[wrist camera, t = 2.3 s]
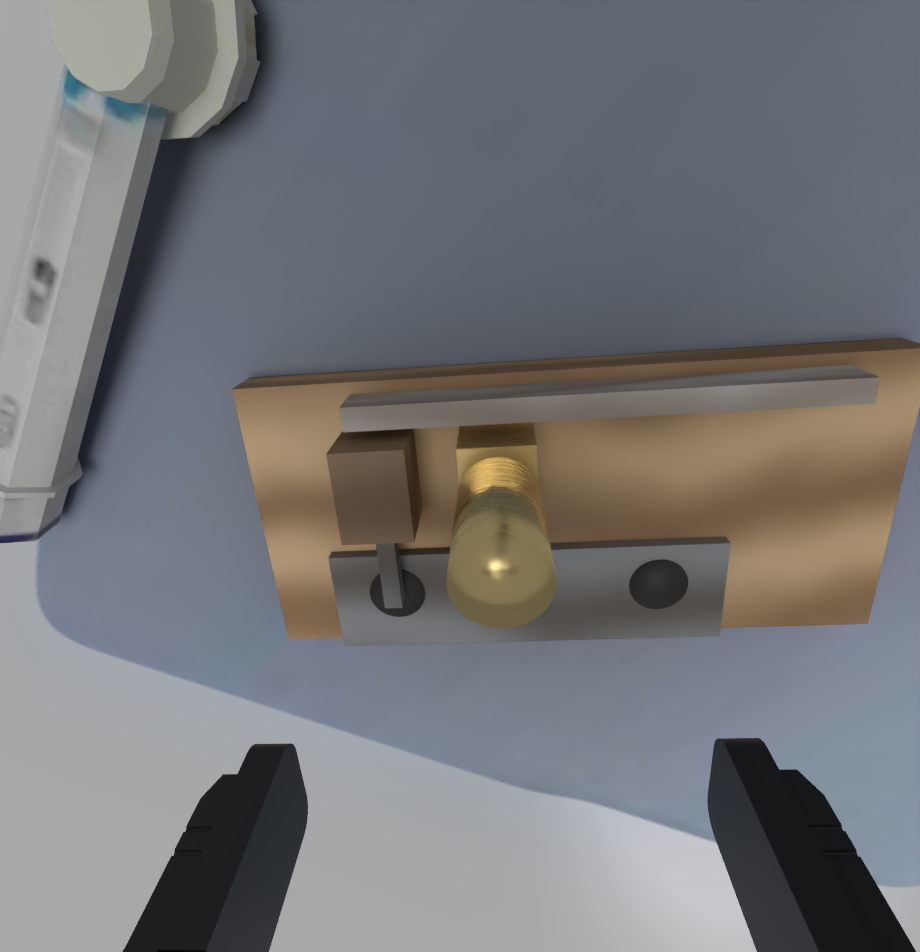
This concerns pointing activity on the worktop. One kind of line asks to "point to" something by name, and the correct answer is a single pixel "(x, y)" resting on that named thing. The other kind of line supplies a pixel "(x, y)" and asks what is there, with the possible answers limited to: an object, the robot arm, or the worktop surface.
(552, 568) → the gold l-shaped piece
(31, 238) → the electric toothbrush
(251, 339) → the worktop surface
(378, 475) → the brown block with stem
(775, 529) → the board
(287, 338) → the worktop surface
